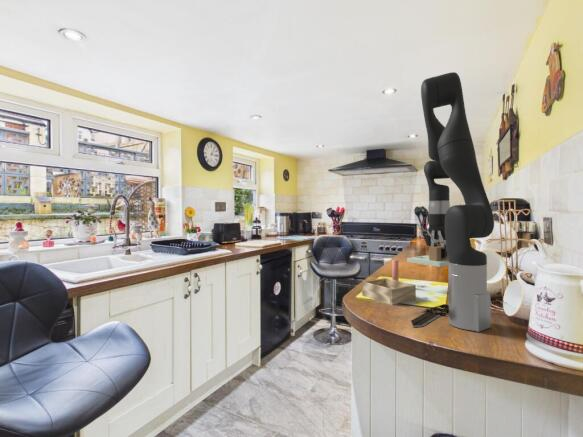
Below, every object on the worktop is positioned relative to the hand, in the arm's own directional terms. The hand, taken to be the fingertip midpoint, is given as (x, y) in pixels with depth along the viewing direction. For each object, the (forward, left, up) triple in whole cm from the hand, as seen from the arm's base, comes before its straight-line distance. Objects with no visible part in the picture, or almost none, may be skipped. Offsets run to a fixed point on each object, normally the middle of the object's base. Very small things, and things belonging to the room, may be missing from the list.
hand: (439, 257), depth 119 cm
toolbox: (+5, +23, -14) cm, 27 cm away
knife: (-14, +26, -14) cm, 33 cm away
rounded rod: (+13, +10, -14) cm, 21 cm away
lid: (+3, 0, -2) cm, 4 cm away
